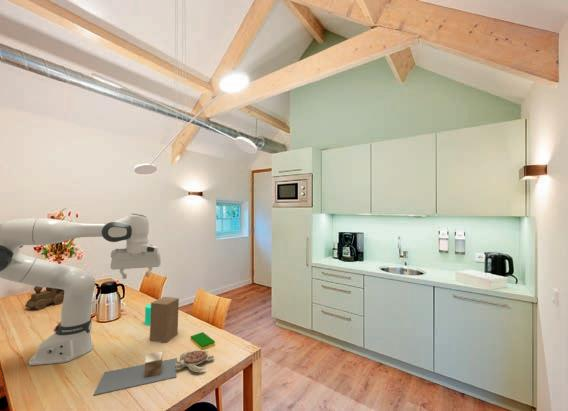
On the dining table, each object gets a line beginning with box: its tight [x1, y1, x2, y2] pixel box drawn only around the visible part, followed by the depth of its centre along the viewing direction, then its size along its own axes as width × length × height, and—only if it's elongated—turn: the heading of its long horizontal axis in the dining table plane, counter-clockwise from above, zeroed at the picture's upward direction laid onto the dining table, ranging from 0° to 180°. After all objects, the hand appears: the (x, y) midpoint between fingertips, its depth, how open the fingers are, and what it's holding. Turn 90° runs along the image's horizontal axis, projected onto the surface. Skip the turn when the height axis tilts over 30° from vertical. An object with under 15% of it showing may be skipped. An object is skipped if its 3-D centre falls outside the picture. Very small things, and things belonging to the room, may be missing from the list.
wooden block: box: [149, 296, 180, 344], centre depth 133 cm, size 10×10×20 cm
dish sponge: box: [190, 331, 216, 351], centre depth 128 cm, size 7×14×2 cm, turn 44°
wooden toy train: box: [24, 286, 64, 311], centre depth 175 cm, size 20×11×17 cm, turn 161°
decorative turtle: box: [175, 350, 215, 373], centre depth 109 cm, size 18×17×5 cm
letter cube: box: [144, 351, 163, 378], centre depth 103 cm, size 6×6×6 cm
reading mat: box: [93, 357, 178, 397], centre depth 101 cm, size 28×14×1 cm, turn 113°
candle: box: [144, 304, 151, 326], centre depth 150 cm, size 6×6×12 cm
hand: (136, 277), depth 115 cm, fingers open, 8 cm apart
